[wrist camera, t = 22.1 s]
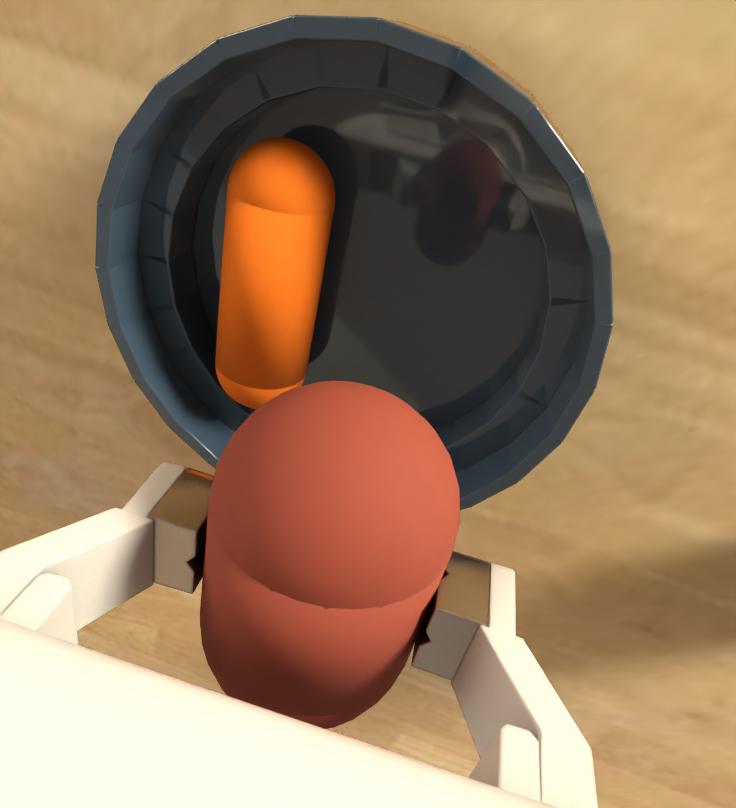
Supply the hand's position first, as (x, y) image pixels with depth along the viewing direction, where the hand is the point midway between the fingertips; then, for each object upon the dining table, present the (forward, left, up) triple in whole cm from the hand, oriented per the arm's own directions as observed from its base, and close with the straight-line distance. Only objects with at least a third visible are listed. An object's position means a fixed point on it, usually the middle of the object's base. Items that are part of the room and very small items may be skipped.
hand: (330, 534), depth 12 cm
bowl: (+3, 0, -16) cm, 16 cm away
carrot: (+6, 0, -15) cm, 16 cm away
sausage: (0, 0, -2) cm, 2 cm away
